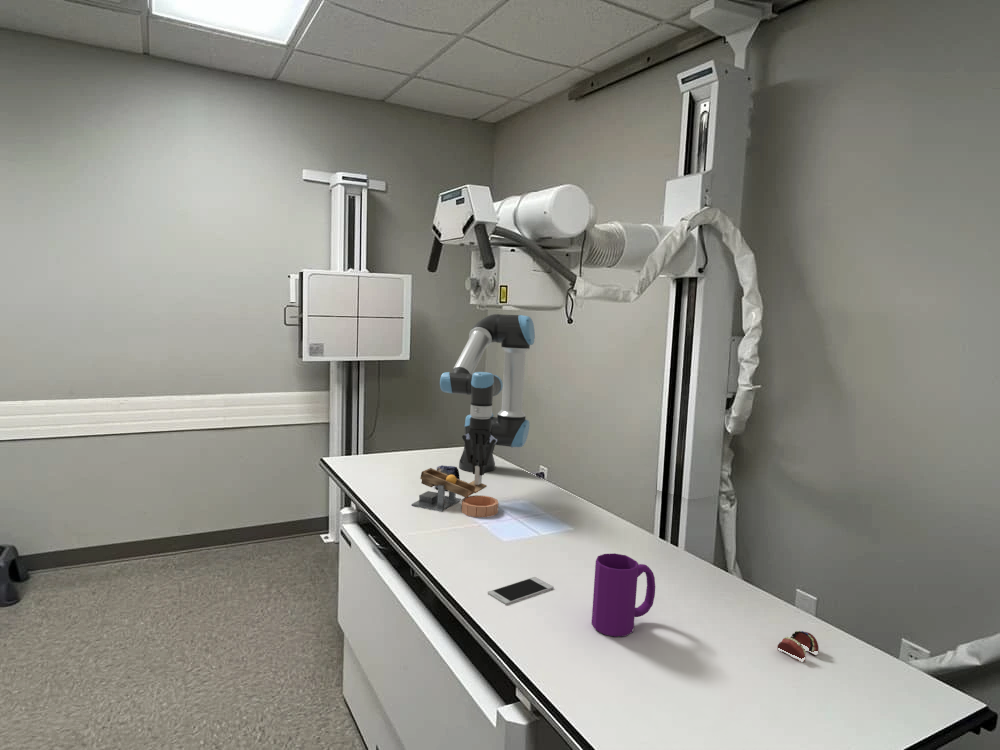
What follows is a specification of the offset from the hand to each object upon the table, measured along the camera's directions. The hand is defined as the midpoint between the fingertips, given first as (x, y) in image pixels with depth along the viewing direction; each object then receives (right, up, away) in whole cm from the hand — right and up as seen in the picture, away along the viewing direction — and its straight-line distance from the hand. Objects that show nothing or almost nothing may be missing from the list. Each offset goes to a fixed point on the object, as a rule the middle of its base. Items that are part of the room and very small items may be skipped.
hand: (477, 483), depth 220 cm
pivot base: (-14, -6, -4) cm, 16 cm away
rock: (-13, -4, +16) cm, 21 cm away
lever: (-9, -1, -2) cm, 9 cm away
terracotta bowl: (+1, -7, -10) cm, 13 cm away
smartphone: (+13, -15, -67) cm, 70 cm away
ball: (-9, +2, -7) cm, 11 cm away
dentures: (+69, -20, -89) cm, 115 cm away
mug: (+35, -17, -81) cm, 90 cm away
